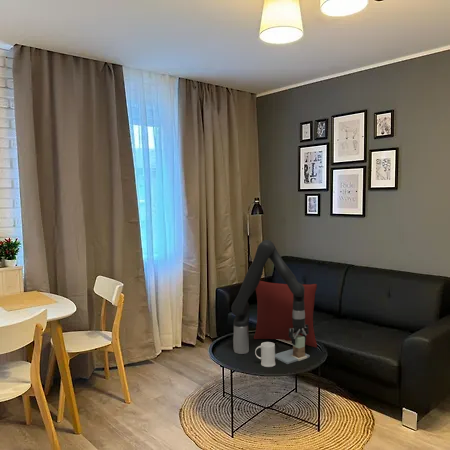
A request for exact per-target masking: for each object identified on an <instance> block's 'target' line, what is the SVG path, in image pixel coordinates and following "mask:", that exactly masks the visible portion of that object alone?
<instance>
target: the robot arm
mask: <svg viewBox="0 0 450 450" xmlns="http://www.w3.org/2000/svg"><path fill="white" fill-rule="evenodd" d="M269 259H270V261H271V262H272V264H273V266H274V267H275V269H276V271H277V273H278V275H279V276H280V278H281V279H282V280H283V281H284V284H287V285H288V287H289V289H290V290H291V292H292V293H293V312H292V324H293V328H289V338H291V341H290V342H291V345H292V346H293V345H295V337H296V336H297V335H298V334H300V333H302V334H303V335H302V336H304V337H305V342H306V335H307V334H309V327H308V325H307V324H305V304H304V291H305V289H304V286H303V285H302V283H301V282H299V280H297V277H296V275H295V274H294V272H292V270H291V268H290V267H289V266H288V265H287V264H286V262H285V261H284V260H283V258H282V257H281V255H280V253H279V251H278V249H277V248H276V246H275V244H274V242H272V241H271V240H270V239H264V240H262V241H261V242H260V243H258V245H257V249H256V252H255V255H254V257H253V260H252V262H251V264H250V266H249V268H248V270H247V271H246V274H245V276H244V278H243V281H242V283H241V286H240V289H239V291H238V293H237V296H236V297H235V299H234V301H233V302H232V303H231V304H232V305H231V308H230V309H231V312H232V314H233V315H234V316H235V317H234V319H233V335H232V339H233V340H232V342H233V343H232V344H233V347H232V348H233V351H234V353H235V354H239V355H243V354H244V355H245V354H248V353H249V351H250V350H249V349H250V348H249V347H250V346H249V345H250V343H249V342H250V341H249V340H250V339H249V336H250V335H249V321H250V313H251V312H250V310H251V309H250V303H249V299H250V298H251V296H252V295H253V293H254V292H256V288H257V286H258V284H259V282H260V281H261V279H262V276H263V273H264V268H265V265H266V264H267V262H268V260H269ZM306 330H307V332H306ZM295 333H296V334H295ZM293 336H294V337H293Z"/></svg>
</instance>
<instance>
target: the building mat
mask: <svg viewBox="0 0 450 450" xmlns="http://www.w3.org/2000/svg"><path fill="white" fill-rule="evenodd" d="M310 356H311V355H310V354H308V353H306V352H305V356H304V357H301V358H297V357H295V356H293V348H291V349H288V350H285V351H281V352H278V353H275V360H278V361H281V362H282V363H284V364H286V365H289V364H292V363H295V362H300V361H303V360H305V359H308V358H310Z"/></svg>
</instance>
